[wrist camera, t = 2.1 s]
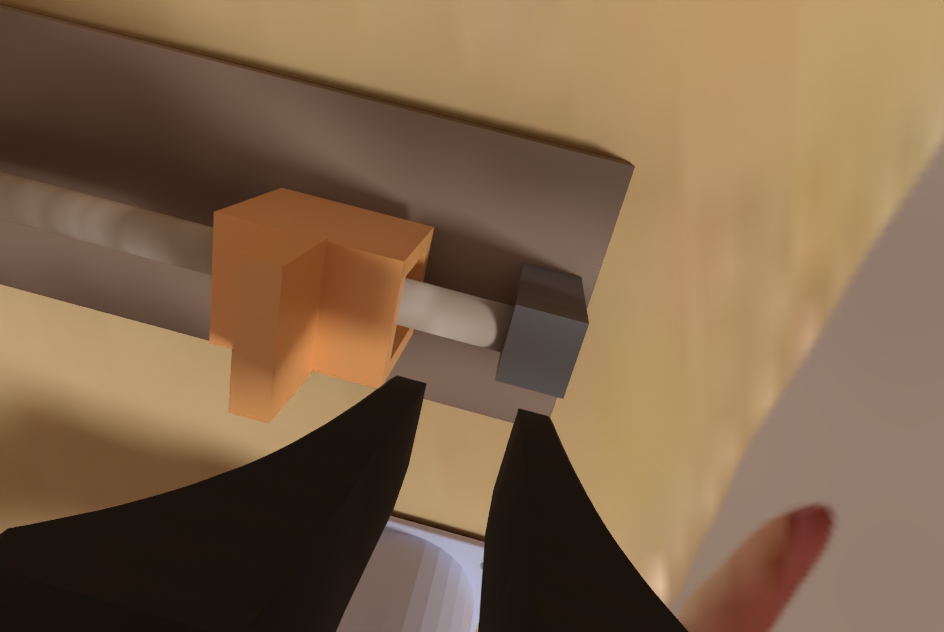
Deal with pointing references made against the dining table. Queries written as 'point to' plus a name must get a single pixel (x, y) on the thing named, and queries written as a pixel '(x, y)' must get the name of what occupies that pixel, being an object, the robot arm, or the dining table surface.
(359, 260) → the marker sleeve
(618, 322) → the dining table surface
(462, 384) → the grey slider rail
